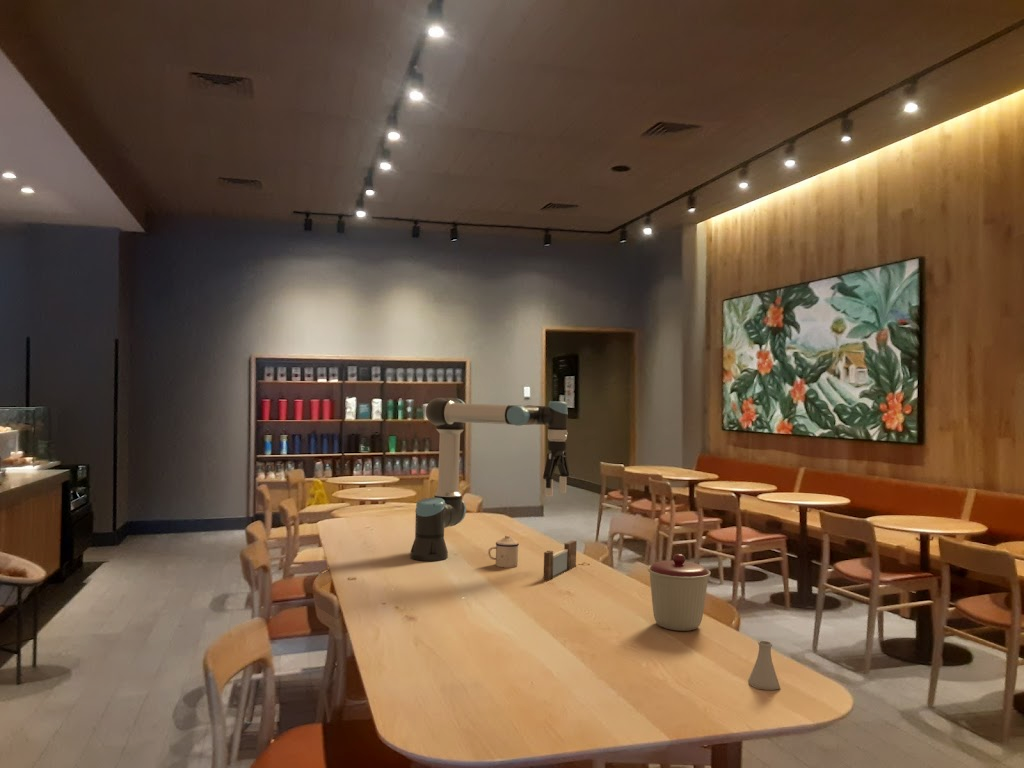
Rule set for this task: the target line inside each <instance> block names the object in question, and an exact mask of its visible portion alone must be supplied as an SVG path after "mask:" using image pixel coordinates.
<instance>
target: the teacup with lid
mask: <svg viewBox="0 0 1024 768" xmlns="http://www.w3.org/2000/svg"><path fill="white" fill-rule="evenodd" d="M519 545H520V543H519V541H517V540H515V539H513V538H511V536H510V535H508V534H507V535H504V537H502V538H501V539H500V540H496V542H495V546H491V547H489V549H488V551H487V554H488V556H489V559H491V560H493V561H495V566H497V567H499V568H503V567H504V568H506V569H510V568H515V567H517V566H518V565H519V563H518V562H519V558H518V557H519ZM492 550H495V557H493V556H492V555H491V551H492Z"/></svg>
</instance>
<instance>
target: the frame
mask: <svg viewBox="0 0 1024 768" xmlns="http://www.w3.org/2000/svg"><path fill="white" fill-rule="evenodd" d="M563 549H568V552H567V569H566V570H564V571H562V572H560V573H558V574H556V575H554V576H553V554H554V551H553V550H546V551H544V552H543V577H542V578H543V581H551V580H553V579H555V578H557V577H559V576H561V575H563V574H565V573H566V572H569V571H570V570H572V569H573V568H576V567H577V540H569V541H567V542H564V547H563ZM564 572H565V573H564ZM562 573H563V574H562Z"/></svg>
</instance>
